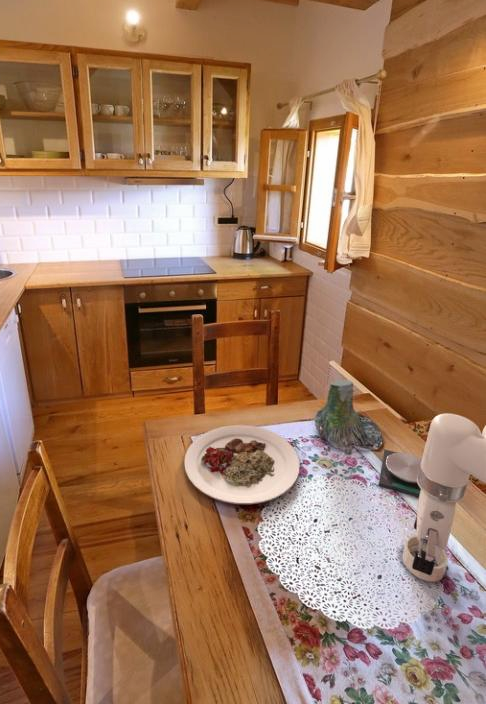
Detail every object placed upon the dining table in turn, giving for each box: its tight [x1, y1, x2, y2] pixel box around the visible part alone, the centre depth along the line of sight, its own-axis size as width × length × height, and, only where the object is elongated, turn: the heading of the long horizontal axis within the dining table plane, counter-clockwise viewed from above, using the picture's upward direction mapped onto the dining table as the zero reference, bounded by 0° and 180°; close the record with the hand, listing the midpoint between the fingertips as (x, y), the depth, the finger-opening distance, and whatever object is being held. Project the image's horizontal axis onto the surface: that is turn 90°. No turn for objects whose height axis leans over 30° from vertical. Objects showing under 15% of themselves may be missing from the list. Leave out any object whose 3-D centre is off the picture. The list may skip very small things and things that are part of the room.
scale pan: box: [386, 452, 422, 484], centre depth 101 cm, size 10×10×2 cm
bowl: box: [402, 534, 449, 583], centre depth 79 cm, size 7×7×4 cm
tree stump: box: [313, 379, 384, 454], centre depth 119 cm, size 18×20×18 cm
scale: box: [378, 448, 422, 499], centre depth 102 cm, size 12×14×2 cm
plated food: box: [183, 424, 300, 505], centre depth 107 cm, size 30×30×3 cm
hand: (421, 549), depth 78 cm, fingers open, 9 cm apart
